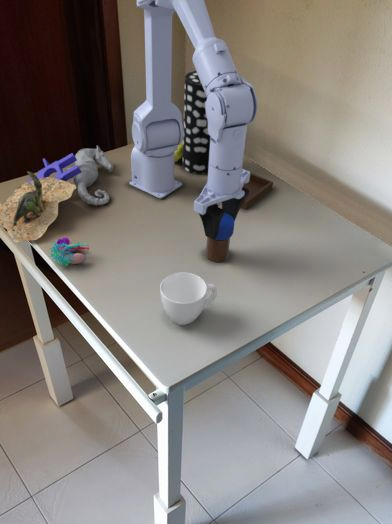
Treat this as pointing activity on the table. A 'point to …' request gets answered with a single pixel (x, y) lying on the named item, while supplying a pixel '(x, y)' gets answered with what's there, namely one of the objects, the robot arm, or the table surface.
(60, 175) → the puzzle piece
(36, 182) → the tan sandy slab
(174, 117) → the robot arm
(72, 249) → the anatomy model
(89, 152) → the seahorse
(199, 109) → the spotted tube
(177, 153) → the lemon
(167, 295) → the cup
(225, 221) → the jar lid
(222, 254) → the jar
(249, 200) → the tray
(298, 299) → the table surface
